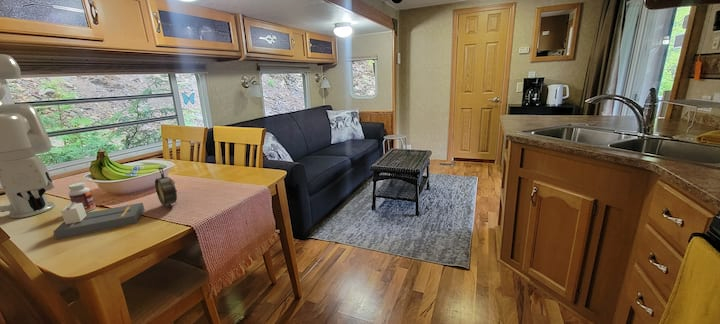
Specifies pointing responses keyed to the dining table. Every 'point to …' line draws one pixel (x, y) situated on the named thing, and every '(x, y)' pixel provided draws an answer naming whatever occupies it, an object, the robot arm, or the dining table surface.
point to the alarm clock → (165, 190)
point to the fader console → (101, 221)
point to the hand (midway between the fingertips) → (39, 208)
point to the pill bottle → (82, 195)
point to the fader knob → (73, 213)
